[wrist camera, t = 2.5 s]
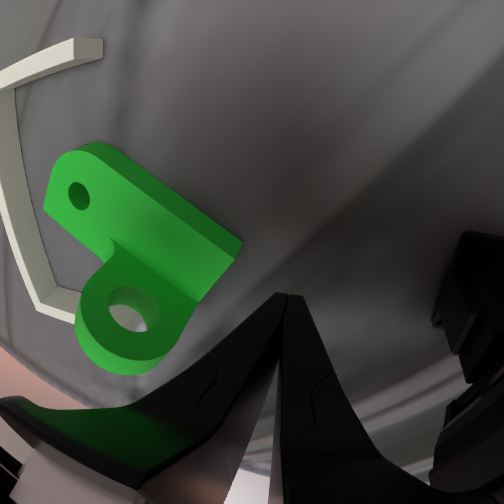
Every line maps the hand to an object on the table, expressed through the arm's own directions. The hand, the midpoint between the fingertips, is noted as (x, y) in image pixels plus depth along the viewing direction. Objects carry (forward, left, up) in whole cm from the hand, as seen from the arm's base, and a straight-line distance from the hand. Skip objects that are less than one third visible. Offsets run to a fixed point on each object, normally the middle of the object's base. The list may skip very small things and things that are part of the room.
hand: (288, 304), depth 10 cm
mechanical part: (+10, +1, -8) cm, 13 cm away
